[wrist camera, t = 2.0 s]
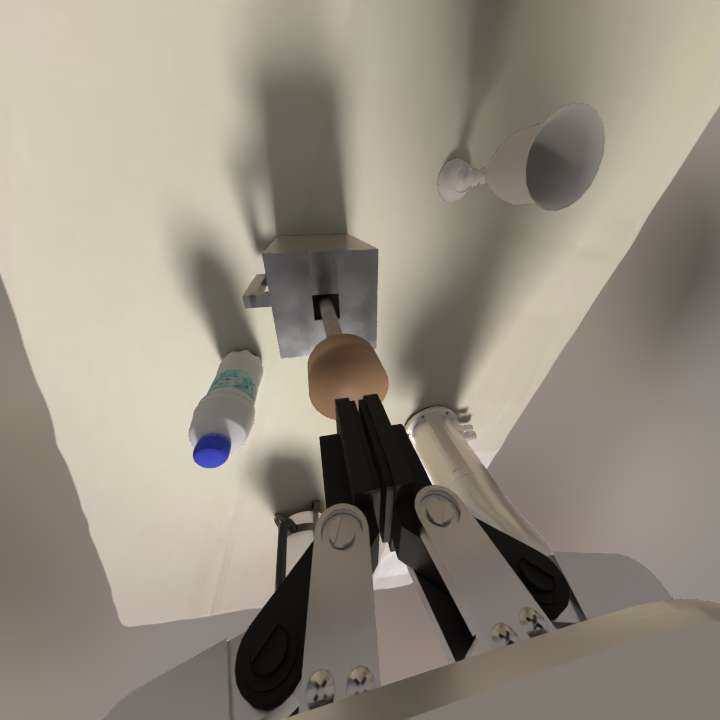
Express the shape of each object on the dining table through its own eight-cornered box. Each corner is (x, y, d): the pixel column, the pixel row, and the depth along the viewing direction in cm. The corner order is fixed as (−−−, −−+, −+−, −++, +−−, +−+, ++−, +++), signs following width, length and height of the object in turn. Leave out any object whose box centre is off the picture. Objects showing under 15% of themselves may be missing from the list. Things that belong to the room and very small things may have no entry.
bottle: (218, 375, 44) (167, 481, 27) (225, 340, 42) (174, 431, 24) (260, 384, 46) (238, 486, 29) (270, 351, 44) (251, 441, 27)
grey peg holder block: (347, 233, 38) (378, 249, 23) (349, 300, 42) (376, 348, 28) (253, 236, 36) (222, 255, 21) (266, 306, 40) (248, 361, 26)
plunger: (353, 255, 28) (425, 314, 12) (355, 319, 32) (412, 431, 16) (283, 258, 27) (260, 328, 11) (292, 325, 31) (286, 451, 15)
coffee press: (347, 502, 67) (377, 683, 42) (316, 539, 72) (326, 720, 47) (282, 488, 60) (271, 695, 35) (253, 529, 65) (223, 738, 40)
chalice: (487, 182, 38) (615, 164, 23) (450, 221, 40) (546, 229, 24) (459, 134, 35) (587, 75, 19) (420, 179, 36) (510, 157, 21)
